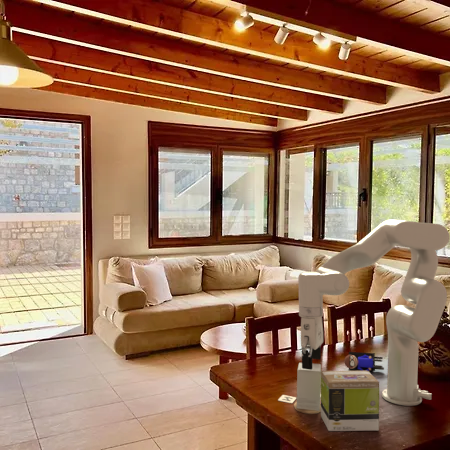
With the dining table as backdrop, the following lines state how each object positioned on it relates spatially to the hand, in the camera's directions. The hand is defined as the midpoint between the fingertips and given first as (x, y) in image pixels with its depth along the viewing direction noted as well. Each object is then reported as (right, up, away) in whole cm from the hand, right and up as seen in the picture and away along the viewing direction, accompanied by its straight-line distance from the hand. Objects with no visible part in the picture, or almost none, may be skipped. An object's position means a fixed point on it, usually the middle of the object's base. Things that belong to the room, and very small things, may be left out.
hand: (311, 363), depth 153 cm
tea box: (+9, -15, -10) cm, 21 cm away
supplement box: (-1, -14, +1) cm, 14 cm away
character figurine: (+27, -13, +35) cm, 46 cm away
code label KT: (+2, -14, +10) cm, 17 cm away
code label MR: (-7, -14, +7) cm, 17 cm away
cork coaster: (-1, -14, 0) cm, 14 cm away
